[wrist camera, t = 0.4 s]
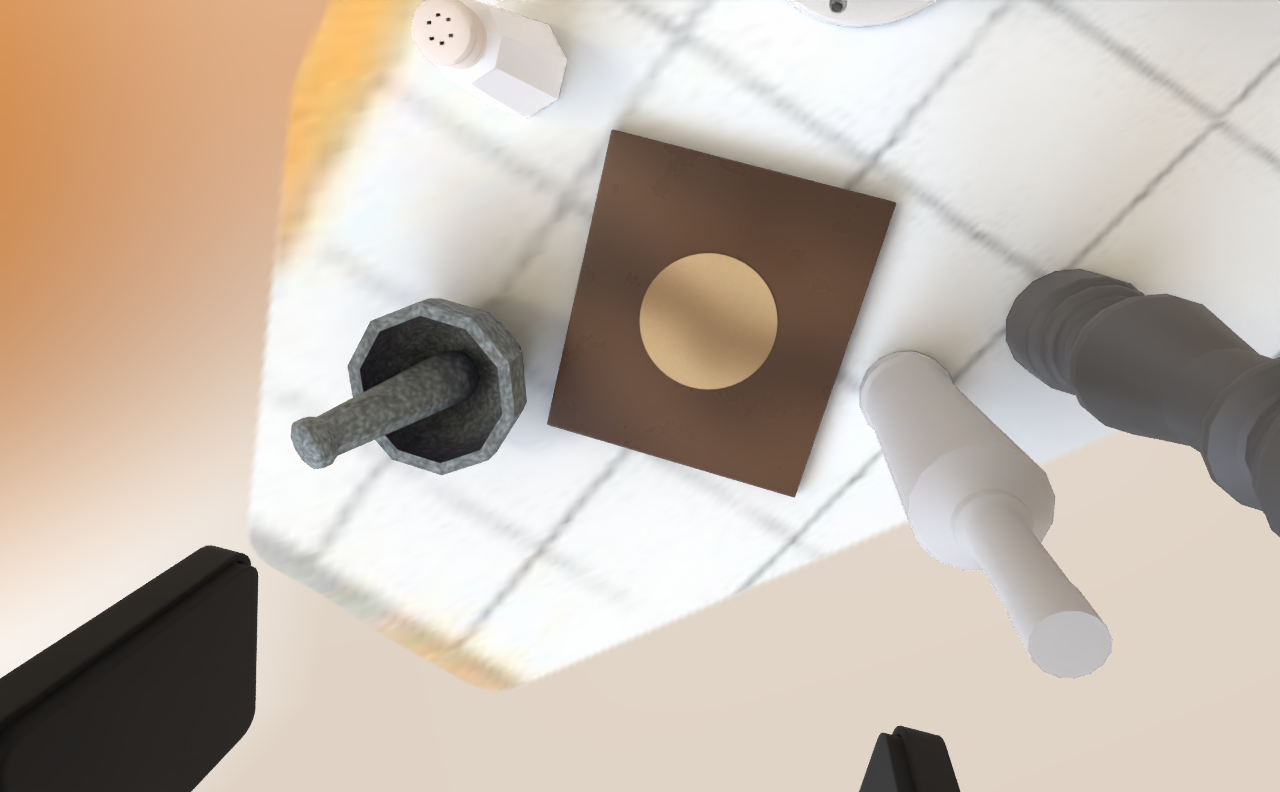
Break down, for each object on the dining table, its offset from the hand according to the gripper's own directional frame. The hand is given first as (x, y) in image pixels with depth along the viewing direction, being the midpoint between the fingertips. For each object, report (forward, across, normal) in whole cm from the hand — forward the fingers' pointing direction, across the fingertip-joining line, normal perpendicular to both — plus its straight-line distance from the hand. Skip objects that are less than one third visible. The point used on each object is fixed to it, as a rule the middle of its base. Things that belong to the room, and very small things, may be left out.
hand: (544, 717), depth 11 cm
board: (+35, 0, 0) cm, 35 cm away
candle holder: (+35, -19, -3) cm, 40 cm away
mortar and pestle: (+35, +15, +7) cm, 39 cm away
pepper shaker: (+35, +13, -11) cm, 39 cm away
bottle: (+35, -12, +2) cm, 37 cm away
